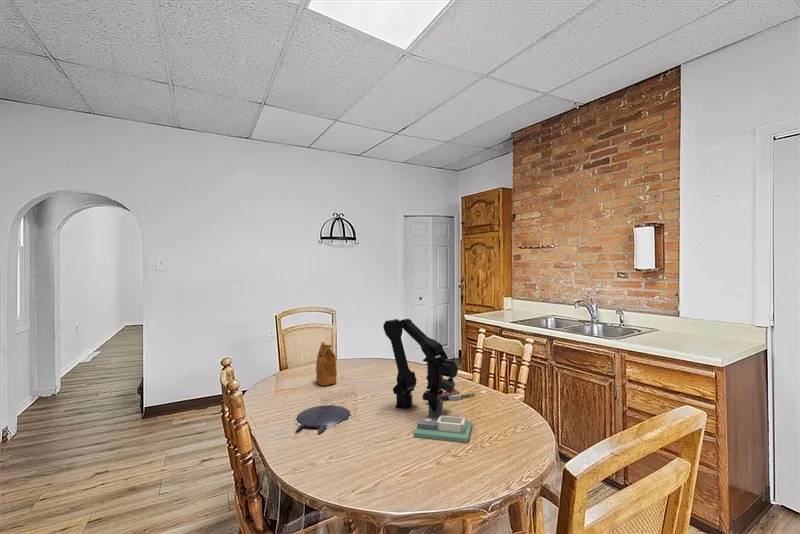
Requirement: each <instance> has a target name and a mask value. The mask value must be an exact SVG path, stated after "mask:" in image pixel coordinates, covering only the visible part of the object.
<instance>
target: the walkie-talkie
mask: <svg viewBox="0 0 800 534" xmlns="http://www.w3.org/2000/svg"><path fill="white" fill-rule="evenodd" d="M475 395H476V393H474V392H472V393H467V394H461V393H460V392H459V391H458V390H457V389H456V388H454V389H453V391H452V393H448V392H447V391H445V390H444V391H443V393H442V394H441V395H440V396H441V397H440V399H441V401H442V402H444V401H453V400H454V401H458V400H459V399H461V400H462V399H463V398H467V397H471V396H475ZM447 399H449V400H447ZM443 400H444V401H443ZM459 401H460V400H459Z"/></svg>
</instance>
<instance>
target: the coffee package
mask: <svg viewBox="0 0 800 534" xmlns="http://www.w3.org/2000/svg"><path fill="white" fill-rule="evenodd" d="M331 348H332V345H331V344H326V342H324V341H321V345H320V347H319V349H318V352H317V357H316V367H315V370H316V371H315V372H316V374H315V375H316V379H315V381H316V383H317V382H318V383H317V384H318V385H319V384H320V385H323V386H322V387H325V386H324V385H326V386H329V385H333V384H336V383H337V357H336V355H335V354H334V353H333V351H332V349H331ZM320 385H319V386H320Z"/></svg>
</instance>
